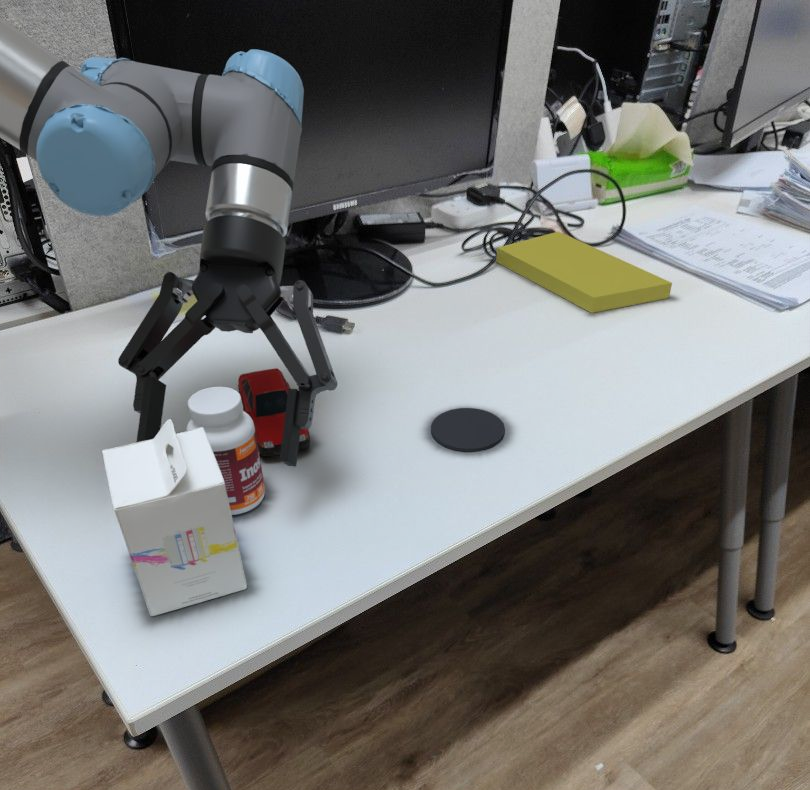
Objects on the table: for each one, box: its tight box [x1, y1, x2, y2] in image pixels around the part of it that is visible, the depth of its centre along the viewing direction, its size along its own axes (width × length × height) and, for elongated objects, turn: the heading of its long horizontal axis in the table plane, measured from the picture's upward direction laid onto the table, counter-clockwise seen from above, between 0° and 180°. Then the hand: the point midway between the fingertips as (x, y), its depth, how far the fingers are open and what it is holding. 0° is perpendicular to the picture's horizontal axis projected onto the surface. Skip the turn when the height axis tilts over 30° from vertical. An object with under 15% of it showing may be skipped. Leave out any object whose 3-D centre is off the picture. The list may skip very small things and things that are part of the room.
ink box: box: [101, 418, 248, 617], centre depth 62 cm, size 9×8×13 cm
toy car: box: [237, 367, 311, 457], centre depth 83 cm, size 6×14×5 cm, turn 19°
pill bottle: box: [185, 386, 266, 516], centre depth 71 cm, size 6×6×11 cm
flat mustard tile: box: [495, 231, 673, 314], centre depth 111 cm, size 12×2×24 cm
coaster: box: [430, 407, 506, 453], centre depth 83 cm, size 8×8×1 cm
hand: (216, 457), depth 70 cm, fingers open, 13 cm apart
